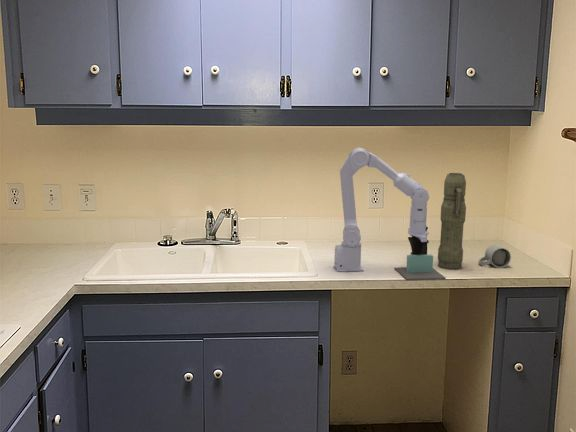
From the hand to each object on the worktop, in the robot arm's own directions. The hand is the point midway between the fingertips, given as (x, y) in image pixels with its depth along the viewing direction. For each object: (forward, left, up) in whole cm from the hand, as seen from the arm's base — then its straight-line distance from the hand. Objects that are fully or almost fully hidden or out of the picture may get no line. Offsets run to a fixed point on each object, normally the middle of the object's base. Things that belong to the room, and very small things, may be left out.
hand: (416, 257), depth 210 cm
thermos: (+15, +5, -5) cm, 17 cm away
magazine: (+6, +14, -6) cm, 16 cm away
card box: (0, -3, -5) cm, 6 cm away
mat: (0, -4, -5) cm, 7 cm away
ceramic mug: (+32, +5, -6) cm, 33 cm away
